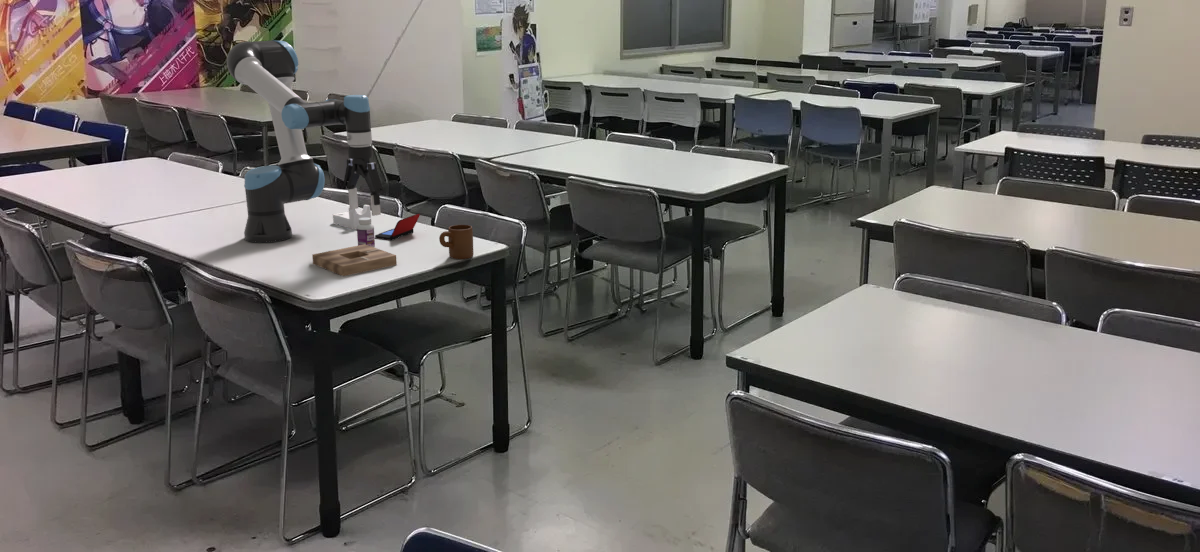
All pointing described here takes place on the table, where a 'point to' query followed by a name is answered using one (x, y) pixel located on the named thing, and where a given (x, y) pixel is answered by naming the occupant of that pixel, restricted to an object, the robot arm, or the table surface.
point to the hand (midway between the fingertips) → (365, 211)
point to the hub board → (354, 260)
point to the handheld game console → (400, 228)
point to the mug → (458, 241)
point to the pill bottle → (365, 232)
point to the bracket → (351, 217)
